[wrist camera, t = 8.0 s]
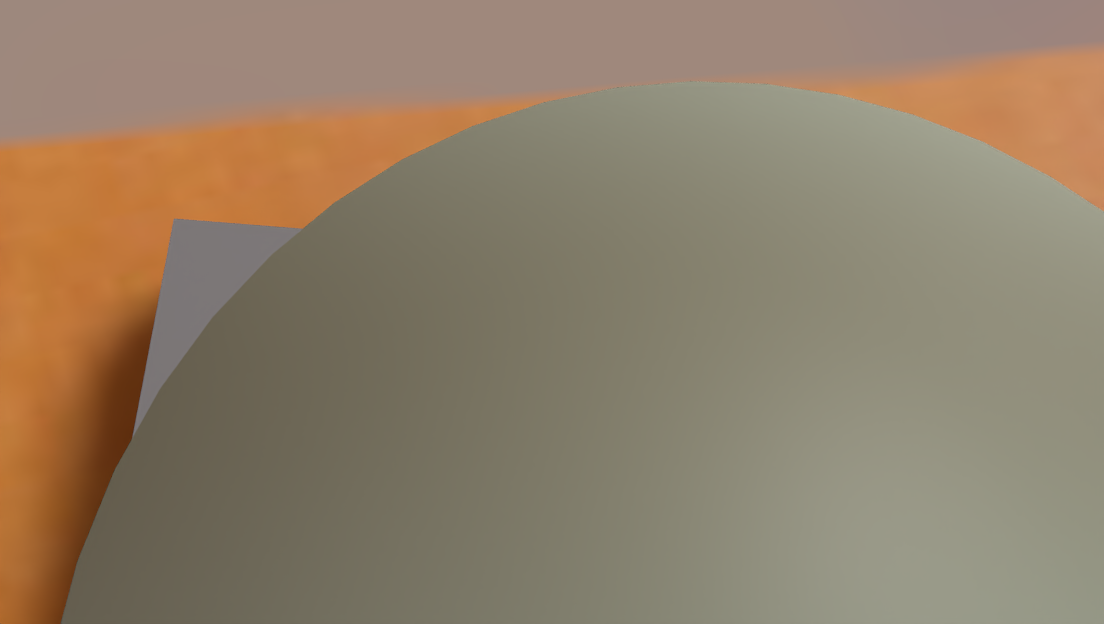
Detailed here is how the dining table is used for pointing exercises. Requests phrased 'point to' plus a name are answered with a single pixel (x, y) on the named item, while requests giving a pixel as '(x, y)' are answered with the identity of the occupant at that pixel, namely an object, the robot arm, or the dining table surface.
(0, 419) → the dining table surface
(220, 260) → the pocket board
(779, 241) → the peg
